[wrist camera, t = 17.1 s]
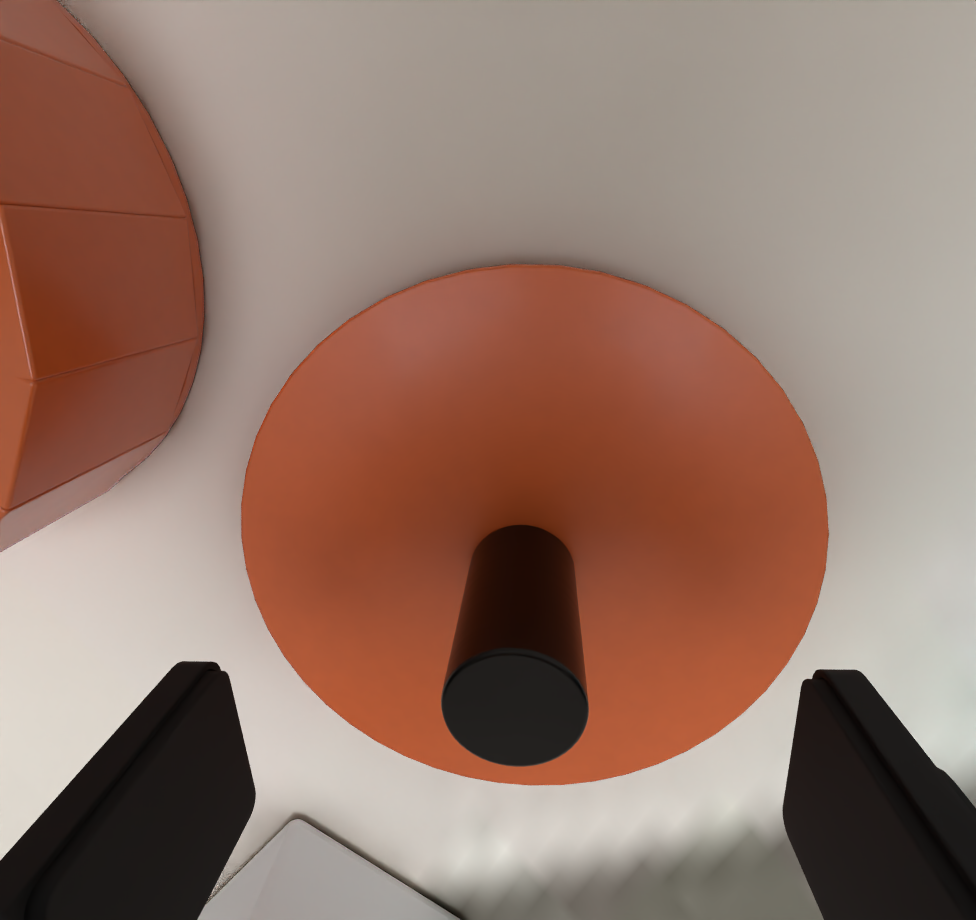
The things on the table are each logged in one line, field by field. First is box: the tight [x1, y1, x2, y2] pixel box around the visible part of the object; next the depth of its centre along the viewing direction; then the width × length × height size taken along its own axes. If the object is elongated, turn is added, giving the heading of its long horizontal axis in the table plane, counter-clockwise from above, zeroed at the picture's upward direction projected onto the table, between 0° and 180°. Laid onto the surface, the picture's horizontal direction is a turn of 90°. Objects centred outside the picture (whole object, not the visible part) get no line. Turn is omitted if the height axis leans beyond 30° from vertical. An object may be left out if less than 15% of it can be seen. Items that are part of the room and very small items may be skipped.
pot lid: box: [241, 264, 829, 785], centre depth 12 cm, size 13×13×6 cm
